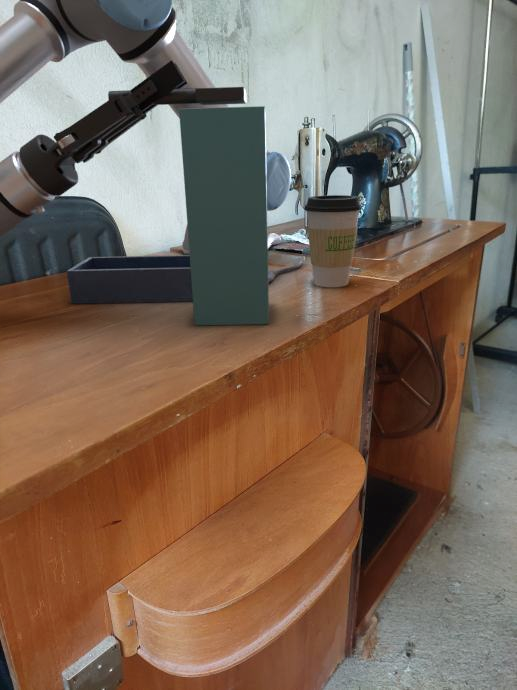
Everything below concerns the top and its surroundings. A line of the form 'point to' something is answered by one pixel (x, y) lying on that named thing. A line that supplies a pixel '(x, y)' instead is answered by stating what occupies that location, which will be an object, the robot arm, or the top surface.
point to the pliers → (282, 270)
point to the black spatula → (199, 96)
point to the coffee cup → (332, 237)
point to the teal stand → (226, 213)
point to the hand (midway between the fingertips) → (179, 72)
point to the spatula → (273, 239)
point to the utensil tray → (131, 279)
